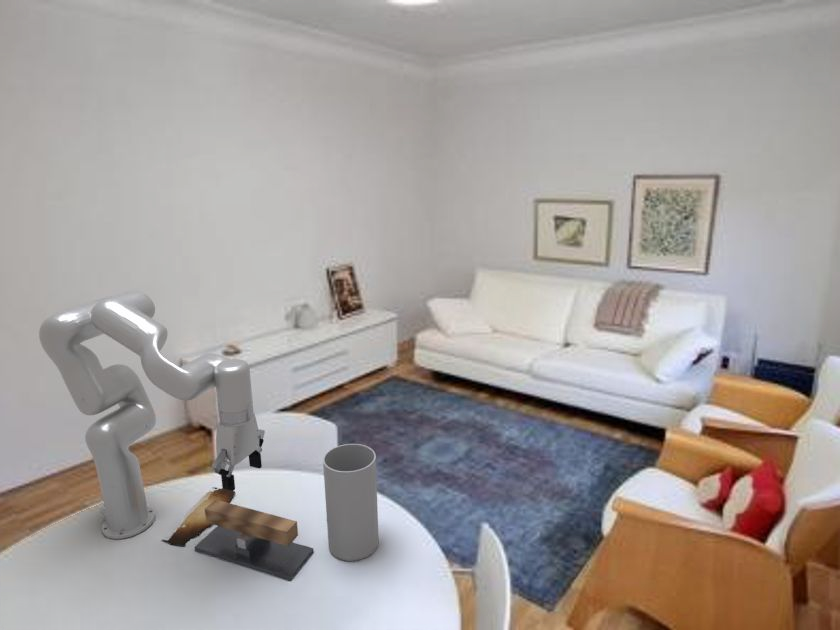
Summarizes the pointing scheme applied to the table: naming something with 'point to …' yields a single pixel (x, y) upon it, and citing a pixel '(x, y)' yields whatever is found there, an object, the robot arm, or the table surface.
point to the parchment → (198, 517)
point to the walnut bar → (252, 522)
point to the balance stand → (255, 552)
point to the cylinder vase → (351, 501)
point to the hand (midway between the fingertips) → (242, 477)
